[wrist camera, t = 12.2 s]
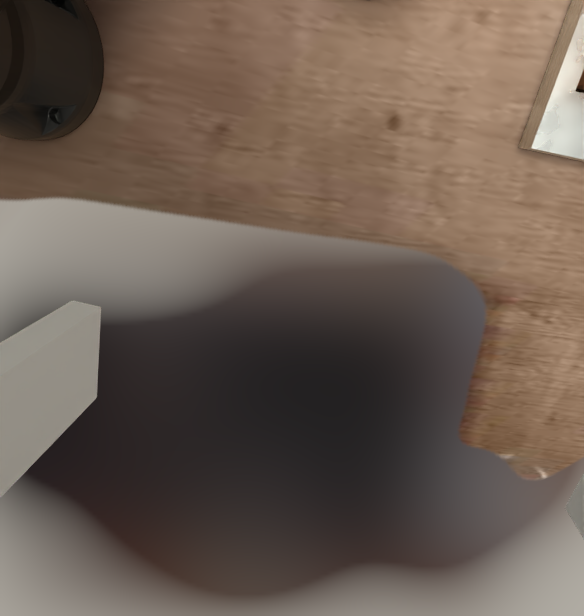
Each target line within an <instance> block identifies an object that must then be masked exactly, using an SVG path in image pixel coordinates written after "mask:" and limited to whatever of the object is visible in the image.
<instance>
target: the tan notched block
mask: <svg viewBox="0 0 584 616" xmlns="http://www.w3.org/2000/svg"><path fill="white" fill-rule="evenodd" d="M576 89H581V90H584V70H583V73H582V75H581V78H580V80H579V83H578V85H577V88H576Z"/></svg>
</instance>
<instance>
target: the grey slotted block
mask: <svg viewBox="0 0 584 616" xmlns="http://www.w3.org/2000/svg"><path fill="white" fill-rule="evenodd" d="M583 70H584V0H572V1H571V4H570V6H569V9H568V12H567V15H566V17H565V20H564V23H563V26H562V28H561V31H560V34H559V37H558V39H557V42H556V45H555V48H554V50H553V53H552V56H551V59H550V61H549V64H548V67H547V70H546V72H545V75H544V78H543V81H542V83H541V86H540V89H539V92H538V94H537V97H536V100H535V102H534V105H533V108H532V111H531V113H530V116H529V119H528V122H527V124H526V127H525V130H524V133H523V135H522V138H521V141H520V144H519V146H518V148H522V149H526V150H531V151H535V152H540V153H545V154H549V155H554V156H559V157H563V158H568V159H573V160H577V161H582V162H584V93H580V92H576V91H575V90H576V88H577V85H578V83H579V80H580V78H581V75H582V73H583Z"/></svg>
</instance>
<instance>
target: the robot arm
mask: <svg viewBox="0 0 584 616" xmlns="http://www.w3.org/2000/svg"><path fill="white" fill-rule="evenodd" d="M102 78H103V53H102V46H101V41H100V37H99V33H98V30H97V27H96V24H95V22H94V19H93V17H92V15H91V13H90V11H89V9H88V7H87V6H86V4H85V2H84V1H83V0H0V134H1V135H3V136H7V137H11V138H15V139H22V140H48V139H54V138H58V137H61V136H63V135H66V134H68V133H69V132H71V131H73V130H74V129H76V128H77V127H78V126H79V125H80V124H81V123H82V122H83V121H84V120H85V119H86V118H87V117H88V115H89V114H90V112H91V111H92V109H93V107H94V105H95V103H96V101H97V98H98V96H99V92H100V89H101V84H102ZM100 320H101V307H99V306H95V305H90V304H86V303H81V302H77V301H73V300H72V301H70V302H69V303H67V304H65V305H64V306H62V307H60V308H59V309H57V310H55V311H54V312H52V313H50V314H49V315H47V316H45V317H43V318H42V319H40V320H38V321H36V322H35V323H33V324H31V325H30V326H28V327H26V328H25V329H23V330H21V331H19V332H18V333H16V334H14V335H13V336H11V337H9V338H8V339H6V340H4V341H2V342H1V343H0V498H1V497H2V496H3V494H4V493H5V492H6V491H7V490H8V489H9V488H10V487H11V486H12V485H13V484H14V483H15V482H16V481H17V480H18V479H19V478H20V477H21V476H22V475H23V473H25V471H27V469H29V467H30V466H31V465H32V464H33V463H34V462H35V461H36V460H37V459H38V458H39V457H40V456H41V455H42V454H43V453H44V452H45V451H46V450H47V449H48V448H49V447H50V446H51V445H52V443H53V442H54V441H55V440H56V439H57V438H58V437H59V436H60V435H61V434H62V433H63V432H64V431H65V430H66V429H67V428H68V427H69V426H70V425H71V424H72V423H73V422H74V421H75V420H76V419H77V417H78V416H79V415H80V414H81V413H82V412H83V411H84V410H85V409H86V408H87V407H88V406H89V405H90V404H91V403H92V402H93V401H94V400H95V399H96V398H97V381H98V361H99V340H100ZM565 509H566V510H567V512H568V514H569V515H570V517H571V519H572V520H573V522H574V524H575V525H576V527H577V529H578V530H579V532H580V534H581V535H582V537H583V538H584V474H583V475H582V478H581V479H580V481H579V483H578V485H577V486H576V488H575V490H574V492H573V494H572V496H571V497H570V499H569V501H568V503H567V505H566V507H565Z"/></svg>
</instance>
